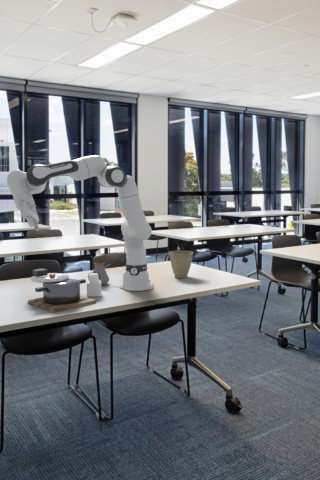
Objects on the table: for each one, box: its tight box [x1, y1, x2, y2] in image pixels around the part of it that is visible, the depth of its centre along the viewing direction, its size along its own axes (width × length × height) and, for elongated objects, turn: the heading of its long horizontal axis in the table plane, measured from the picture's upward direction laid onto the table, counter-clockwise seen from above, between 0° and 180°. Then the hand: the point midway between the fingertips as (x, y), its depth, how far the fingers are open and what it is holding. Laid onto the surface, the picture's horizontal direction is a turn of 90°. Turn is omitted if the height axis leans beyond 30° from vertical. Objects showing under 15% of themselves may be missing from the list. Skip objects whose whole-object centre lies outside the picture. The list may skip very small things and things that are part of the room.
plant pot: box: [168, 250, 194, 279], centre depth 288 cm, size 15×15×16 cm
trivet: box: [27, 294, 97, 314], centre depth 228 cm, size 24×24×2 cm
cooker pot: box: [34, 278, 87, 305], centre depth 227 cm, size 18×28×9 cm, turn 136°
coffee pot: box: [92, 256, 124, 287], centre depth 270 cm, size 21×12×15 cm, turn 120°
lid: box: [30, 268, 70, 284], centre depth 234 cm, size 22×19×3 cm
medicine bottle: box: [86, 271, 102, 298], centre depth 243 cm, size 7×7×12 cm
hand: (34, 228), depth 219 cm, fingers open, 8 cm apart
